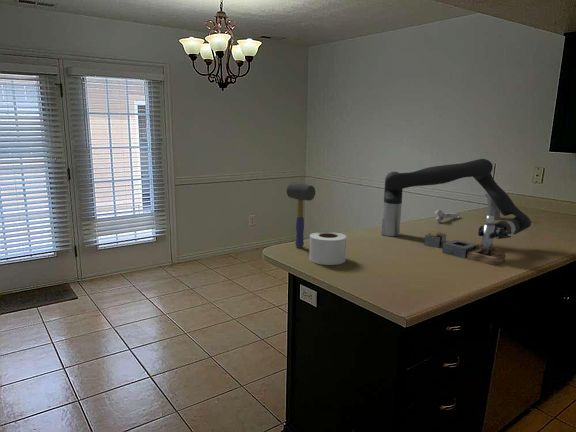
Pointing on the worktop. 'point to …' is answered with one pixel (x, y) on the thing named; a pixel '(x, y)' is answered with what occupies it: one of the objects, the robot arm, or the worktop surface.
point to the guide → (435, 240)
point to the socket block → (458, 248)
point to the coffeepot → (492, 208)
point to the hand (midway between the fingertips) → (485, 234)
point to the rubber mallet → (300, 206)
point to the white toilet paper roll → (327, 248)
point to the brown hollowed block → (494, 259)
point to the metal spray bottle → (487, 236)
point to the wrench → (445, 215)
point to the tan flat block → (438, 231)
